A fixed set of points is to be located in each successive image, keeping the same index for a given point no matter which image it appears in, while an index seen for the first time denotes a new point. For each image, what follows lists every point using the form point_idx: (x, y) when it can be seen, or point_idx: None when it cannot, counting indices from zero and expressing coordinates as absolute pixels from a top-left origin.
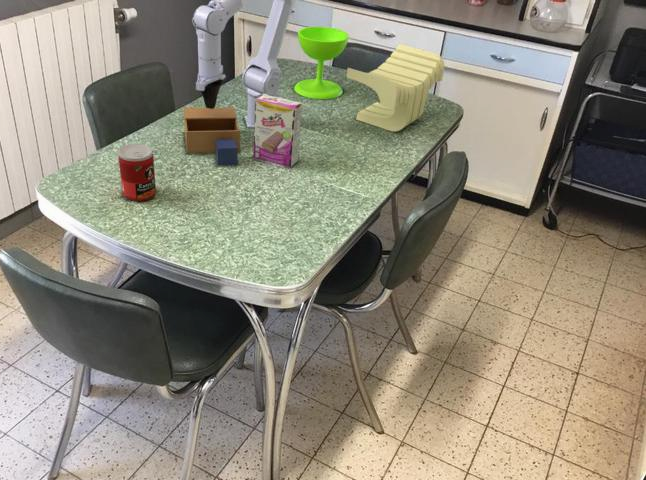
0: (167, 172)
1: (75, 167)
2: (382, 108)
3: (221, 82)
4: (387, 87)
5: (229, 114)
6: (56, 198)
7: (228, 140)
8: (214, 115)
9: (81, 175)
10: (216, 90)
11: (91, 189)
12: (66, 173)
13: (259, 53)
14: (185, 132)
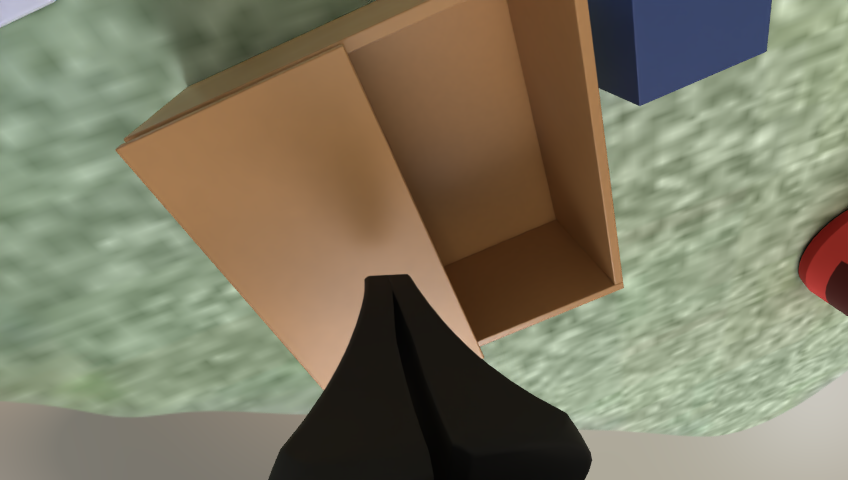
0: (714, 224)
1: (665, 428)
2: None
3: (373, 474)
4: None
5: (308, 134)
6: (815, 385)
7: (646, 11)
8: (383, 235)
9: (709, 400)
10: (490, 396)
11: (789, 352)
12: (695, 426)
13: None
14: (462, 299)
